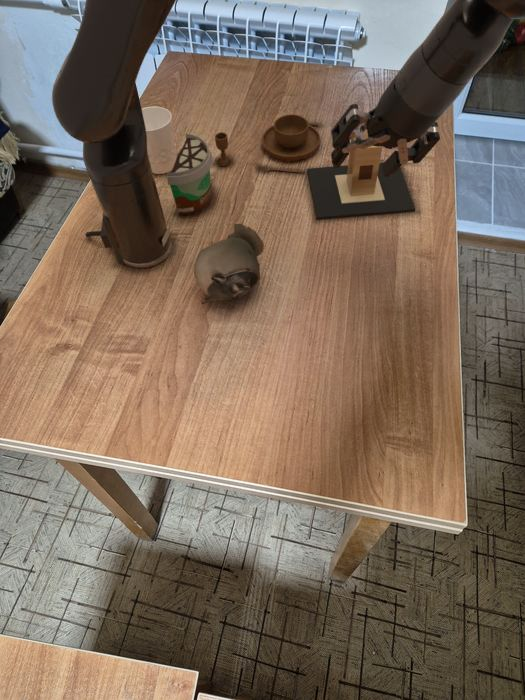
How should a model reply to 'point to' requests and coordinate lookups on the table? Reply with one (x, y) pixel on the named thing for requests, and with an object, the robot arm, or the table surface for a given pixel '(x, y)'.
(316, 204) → the mat
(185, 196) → the food container
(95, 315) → the table surface
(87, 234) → the robot arm
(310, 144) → the place setting
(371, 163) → the tan block
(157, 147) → the white cup
